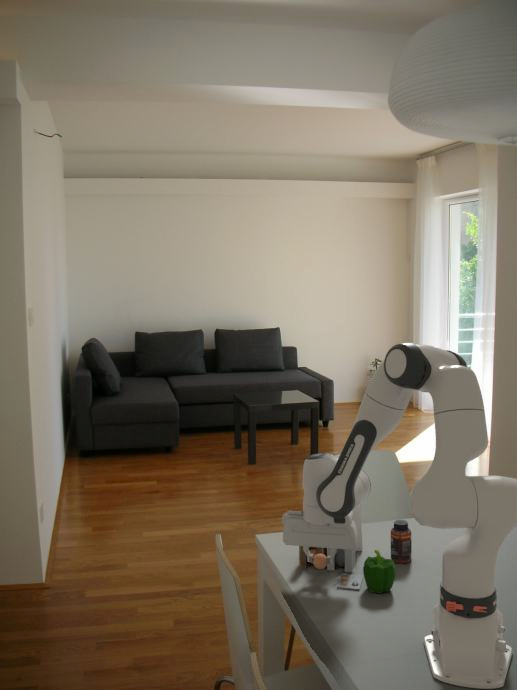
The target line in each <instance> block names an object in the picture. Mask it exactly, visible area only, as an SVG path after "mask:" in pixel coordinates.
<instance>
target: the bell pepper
mask: <svg viewBox="0 0 517 690" xmlns="http://www.w3.org/2000/svg"><path fill="white" fill-rule="evenodd" d="M374 553H375V555H376V556H373V557H372V556H367V557H366V559H365V560H364V563H363V568H362V569H363V579H364V581H365V584H366V587H367V589H368V591H370V592H371V593H375V594H382V593H383V592H384V593H388V592H390V591H391V589H392V588H393V585H394V583H395V577H396V566H395V562H394V561H393V560H392V559H391V558H385V557H384V556H382V555H381V551H380V550H379V549H374Z"/></svg>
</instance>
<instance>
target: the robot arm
mask: <svg viewBox="0 0 517 690" xmlns="http://www.w3.org/2000/svg"><path fill="white" fill-rule="evenodd" d="M417 391H419V392H422V393H428V394H429V396H431V399H432V405H433V406H432V407H433V418H434V428H435V429H434V431H435V432H434V433H435V450H434V456H433V460H432V463H431V464H430V467H429V469H428V470H427V471H426V472H425V474H424V475H423V476H422V477H421V478H420V479H419V480H418V481H416V482H415V484H414V485H413V487H412V488H411V491H410V493H409V498H408V499H409V500H408V505H409V510H410V513H411V516H413V518H414V519H415V521H416V522H417V523H418V524H419V525H420V526H423V527H427V528H434V529H440V530H449V529H452V530H453V529H454V530H455V529H465V531H464V532H463V534H462V535H460V536H459V537H457V538H455V539H454V540H452V541H451V542H449V543H448V544H447V546H446V547H445V548H444V550H443V553H442V562H441V563H442V565H441V567H442V571H441V572H442V574H441V577H442V578H441V579H442V580H441V582H440V585H439V586H440V587H439V602H438V603H437V604H435V606H433V608H432V609H433V611H432V612H433V614H432V615H433V617H432V629H431V634H428V635H426V636H424V637H423V646H424V648H425V652H426V656H427V660H428V663H429V666H430V667H429V668H430V670H431V674H432V677H433V678H434V679H436V680H438V681H441V682H442V683H445V684H446V683H447V684H450V685H453V686H458V687H462V688H463V687H464V688H469V689H470V688H471V689H481V690H484V689H486V690H493V689H499V688H502V687H504V686H505V681H506V678H507V674H508V670H509V667H510V663H511V659H512V656H513V648H512V646H510V645H508V644H507V641H506V640H504V636H503V634H505V631H506V630H505V629H506V627H505V626H504V615H503V613H501V611H500V610H499V609H498V607H497V602H498V595H497V589H496V587H495V586H496V585H495V584H496V583H495V580H496V566H497V557H498V555H499V551H500V549H501V547H502V545H503V543H504V541H505V539H506V538H507V537H508V535H509V534H510V533H512V531H513V530H514V529H515V528H516V527H517V478H514V477H509V476H503V475H470V476H468V475H466V468H467V465H468V463H470V462H471V461H473V460H475V459H476V458H479V457H480V456H481V455H482V454H484V453H485V451H486V450H487V448H488V445H489V436H488V426H487V420H486V419H487V418H486V413H485V412H486V411H485V406H484V399H483V395H482V391H481V387H480V383H479V380H478V378H477V375H476V372H475V371H474V370H472V369H471V368H470V367H468V364H467V362H466V361H465V359H464V357H462V356H461V355H460V354H458V353H456V352H454V351H452V350H447V349H442V348H438V347H435V346H433V345H427V344H417V343H413V342H402V343H396V344H395V345H393V346H392V347H390V348H389V350H388V351H387V352H386V354H385V357H384V359H383V360H382V361H381V362H380V364H379V365H378V367H377V368H376V370H375V371H374V373H373V375H372V377H371V378H370V381H369V383H368V384H367V387H366V390H365V392H364V395H363V397H362V399H361V402H360V405H359V408H358V410H357V413H356V414H357V415H356V417H355V419H354V423H353V425H352V427H351V429H350V433H349V435H348V437H347V439H346V442H345V443H344V445H343V448H342V451H341V452H340V454H339V457H338V458H339V459H336V458H337V457H335V456H334V454H332V453H331V452H318V453H314V454H311V455H309V456H308V457H307V458H306V459H305V460H304V463H303V468H302V489H303V494H304V495H303V498H302V510H287V511H285V512H283V514H282V515H281V523H282V525H283V530H282V543H283V544H285V546H296V547H299V546H303V550H304V552H305V554H306V555H307V562H308V563H310V562H313V558H314V554H311V553H310V551H309V547H320V548H331V552H332V554H331V555H328V557H327V563H329V564H333V557H334V555H335V553H336V551H337V549H347V550H354V549H355V548H356V547H357V544H358V536H357V528H356V524H355V522H354V521H353V520H352V517H353V512H352V510H353V509H354V508H355V507H356V506H357V505H359V504H360V503H362V502H363V501H364V500H365V499H367V497H368V496H369V495H370V493H371V489H372V484H371V483H372V482H371V479H370V478H369V475H368V474H367V473H366V472H365V471H364V470H363V468H364V466H365V464H366V462H367V460H368V458H369V456H370V454H371V453H372V451H373V450H374V449H375V448H376V447H377V446H378V445H379V444H380V443H381V442H382V441H383V440H385V439H386V438H387V437H389V435H391V434H392V433H393V432H394V431H395V429H396V428H397V427H398V425H399V423H401V420H403V418H404V415H405V413H406V410H407V408H408V405H409V404H410V400H411V398H412V396H413V394H414V393H416V392H417Z"/></svg>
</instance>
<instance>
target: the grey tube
mask: <svg viewBox="0 0 517 690" xmlns="http://www.w3.org/2000/svg"><path fill="white" fill-rule="evenodd" d="M338 552H344V553H345V566H344V572H346V573H353V571H354V568H355V565H356V561H357V559H356V558H357V557H356V554H357V551H356V548H355V549H354V550H347V549H337V551H336V553H335V555H336V554H337V553H338ZM331 554H332V552H331V548H327V557H328V555H331ZM335 555H334V557H333V564H329V563H327V566H326V568H327V569H326V570H327V571H335V560H334V558H335Z"/></svg>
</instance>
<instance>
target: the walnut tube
mask: <svg viewBox="0 0 517 690" xmlns="http://www.w3.org/2000/svg"><path fill="white" fill-rule="evenodd" d="M312 549H315V550H316V554H324V555H325V556H326V557H327V548H320V547H309V551H310V550H312ZM298 561H299V562H298V563H299V564H298V565H299V566H298V567H299V568H306V569H307V566H308V565H307V562H308V561H307V555H306V554H305V552H304V550H303V546H298ZM316 569H317V570H319V569H318V568H316ZM322 570H325V568H323V569H322Z"/></svg>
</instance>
